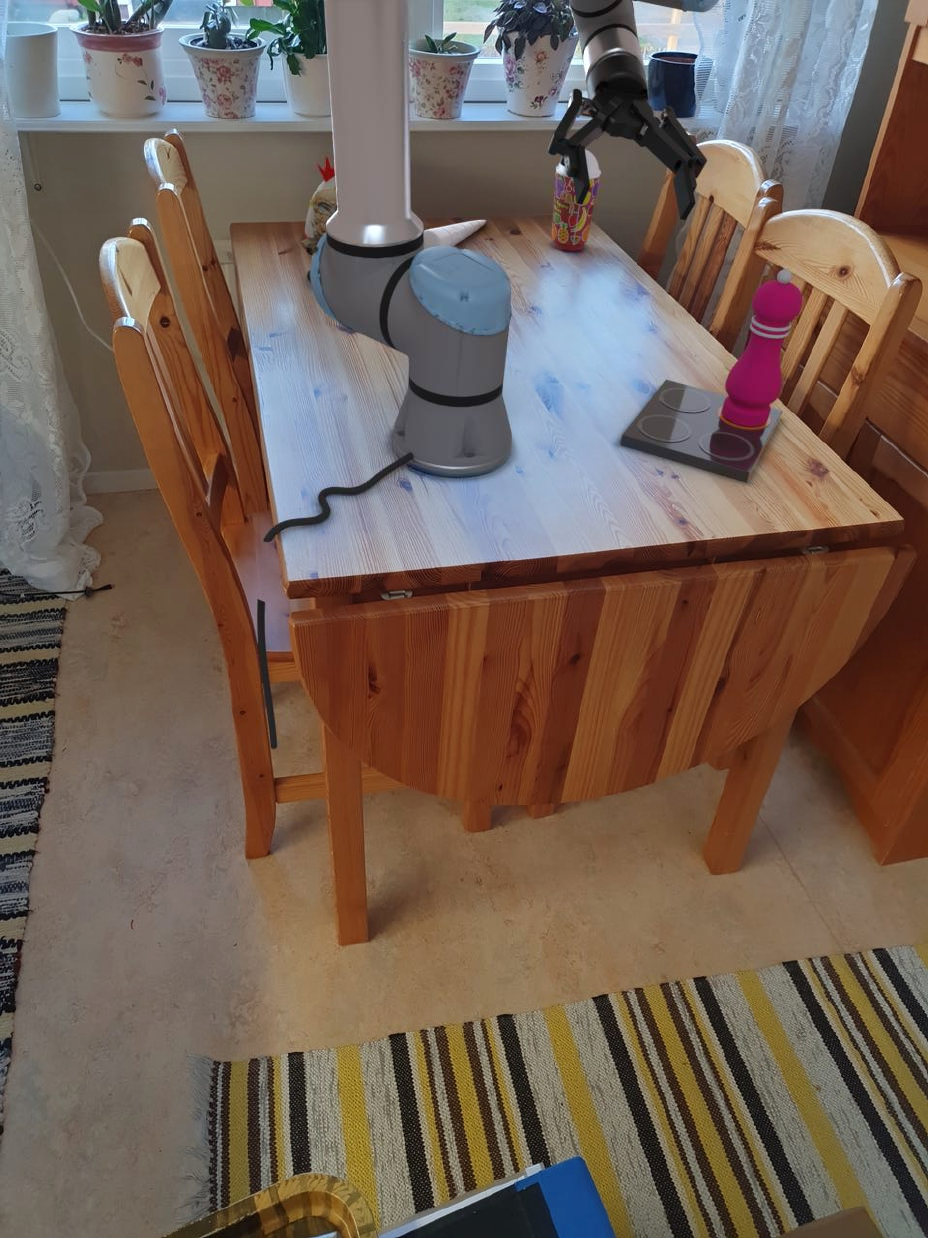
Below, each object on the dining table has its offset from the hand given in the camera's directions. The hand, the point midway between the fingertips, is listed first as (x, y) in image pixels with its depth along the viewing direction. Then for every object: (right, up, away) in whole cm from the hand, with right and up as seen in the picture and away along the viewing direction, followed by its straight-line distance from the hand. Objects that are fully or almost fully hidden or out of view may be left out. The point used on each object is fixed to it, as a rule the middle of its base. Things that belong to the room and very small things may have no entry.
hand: (636, 203), depth 111 cm
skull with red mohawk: (-43, +21, +62) cm, 78 cm away
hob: (+12, -25, +14) cm, 31 cm away
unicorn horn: (-22, +22, +65) cm, 73 cm away
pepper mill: (+18, -22, +15) cm, 32 cm away
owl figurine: (-40, +8, +48) cm, 63 cm away
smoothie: (-1, +22, +67) cm, 71 cm away
